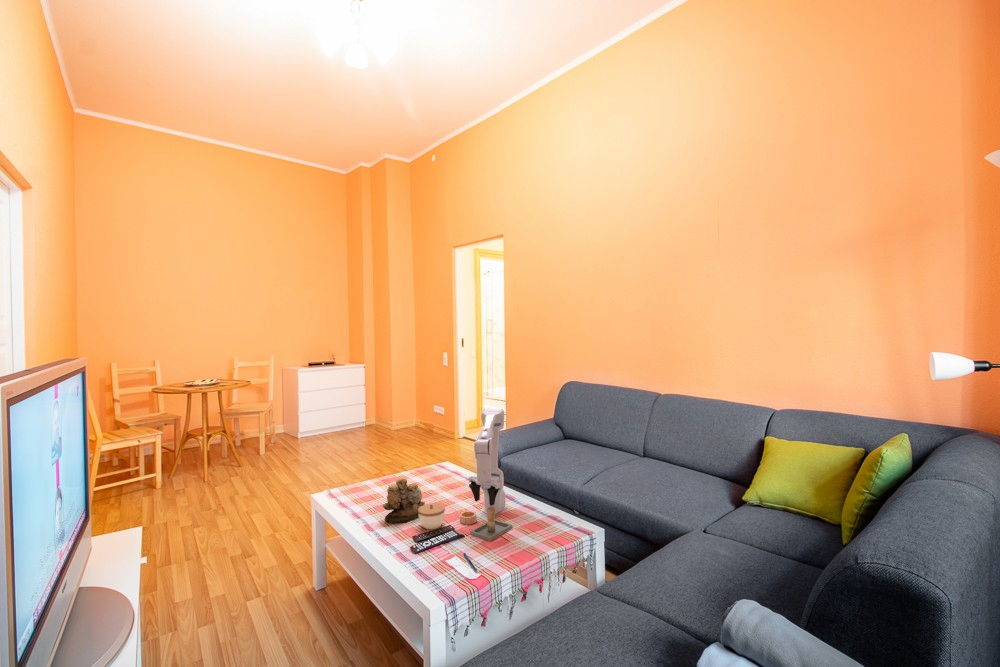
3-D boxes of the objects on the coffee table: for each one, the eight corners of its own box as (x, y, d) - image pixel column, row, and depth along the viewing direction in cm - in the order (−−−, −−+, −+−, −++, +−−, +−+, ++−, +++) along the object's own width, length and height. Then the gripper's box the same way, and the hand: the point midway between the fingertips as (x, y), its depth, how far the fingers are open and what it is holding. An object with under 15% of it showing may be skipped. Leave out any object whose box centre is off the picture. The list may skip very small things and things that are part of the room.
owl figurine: (386, 527, 190) (385, 486, 190) (379, 517, 201) (378, 478, 200) (428, 517, 199) (427, 477, 199) (419, 508, 209) (418, 470, 209)
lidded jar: (420, 534, 183) (419, 511, 183) (417, 523, 193) (416, 501, 193) (447, 530, 186) (446, 507, 185) (443, 520, 196) (442, 498, 196)
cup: (467, 517, 198) (467, 509, 198) (479, 521, 194) (479, 513, 194) (456, 522, 193) (456, 515, 193) (468, 526, 189) (468, 519, 189)
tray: (492, 523, 192) (492, 518, 192) (512, 529, 186) (512, 524, 186) (470, 535, 181) (470, 531, 181) (490, 542, 175) (490, 538, 175)
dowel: (490, 528, 185) (490, 506, 185) (496, 530, 184) (496, 507, 183) (486, 531, 183) (485, 508, 183) (492, 533, 181) (491, 510, 181)
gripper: (463, 468, 188) (464, 502, 188) (491, 475, 179) (492, 510, 180) (474, 464, 194) (475, 496, 194) (502, 470, 185) (503, 504, 185)
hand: (484, 502), depth 187 cm, fingers open, 7 cm apart
